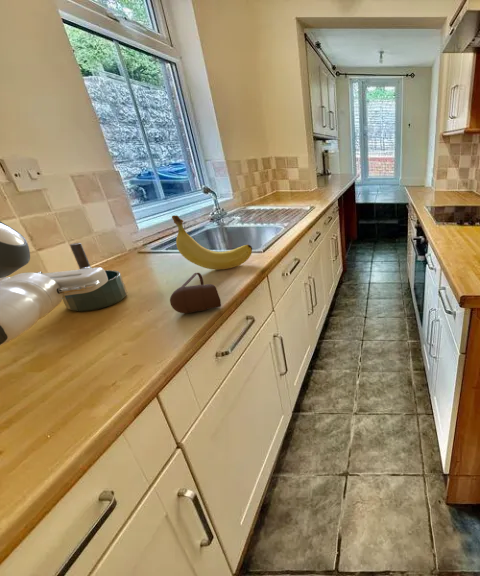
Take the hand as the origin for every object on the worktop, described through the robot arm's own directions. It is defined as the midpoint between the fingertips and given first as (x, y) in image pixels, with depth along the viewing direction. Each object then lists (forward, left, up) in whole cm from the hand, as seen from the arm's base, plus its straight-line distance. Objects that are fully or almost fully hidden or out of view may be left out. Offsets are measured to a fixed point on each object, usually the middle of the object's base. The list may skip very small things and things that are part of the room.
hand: (64, 272), depth 76 cm
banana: (+39, +9, -12) cm, 41 cm away
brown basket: (+23, -14, -12) cm, 30 cm away
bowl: (+4, +8, -12) cm, 15 cm away
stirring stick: (+4, +8, -11) cm, 15 cm away
